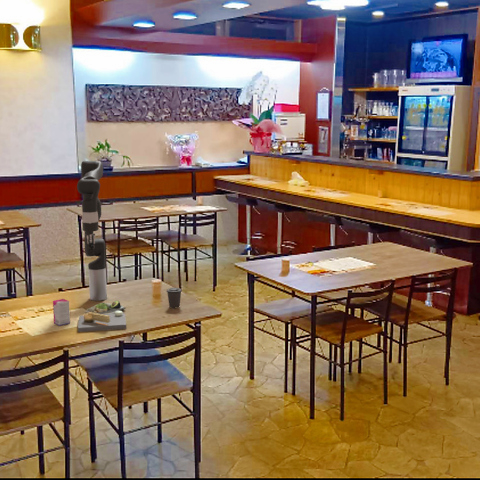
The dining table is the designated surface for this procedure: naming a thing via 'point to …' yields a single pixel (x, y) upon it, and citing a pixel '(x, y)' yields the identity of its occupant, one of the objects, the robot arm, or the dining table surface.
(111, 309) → the salad plate
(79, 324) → the base
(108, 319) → the tan elongated block
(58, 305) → the supplement box
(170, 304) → the coffee cup
